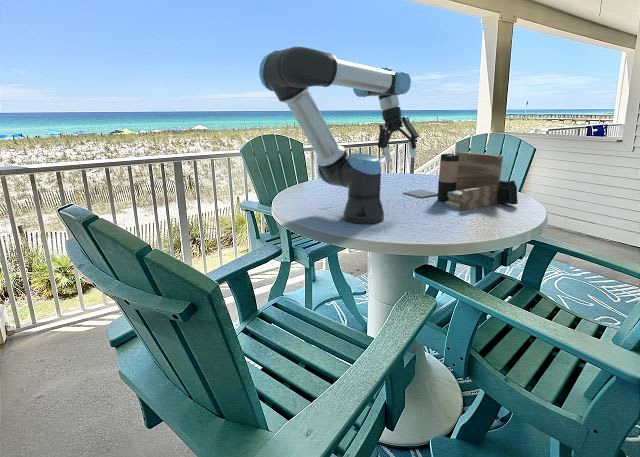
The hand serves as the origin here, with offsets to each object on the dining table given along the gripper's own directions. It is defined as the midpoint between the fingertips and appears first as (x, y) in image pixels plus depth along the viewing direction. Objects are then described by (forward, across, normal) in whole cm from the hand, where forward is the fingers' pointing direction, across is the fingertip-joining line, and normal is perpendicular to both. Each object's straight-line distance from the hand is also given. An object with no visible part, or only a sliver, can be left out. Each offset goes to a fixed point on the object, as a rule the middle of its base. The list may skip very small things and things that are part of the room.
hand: (401, 160), depth 153 cm
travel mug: (+22, -4, -19) cm, 30 cm away
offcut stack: (+25, -14, -18) cm, 34 cm away
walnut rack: (+24, -9, -20) cm, 32 cm away
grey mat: (+19, +10, -21) cm, 30 cm away
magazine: (+27, -15, -35) cm, 47 cm away
